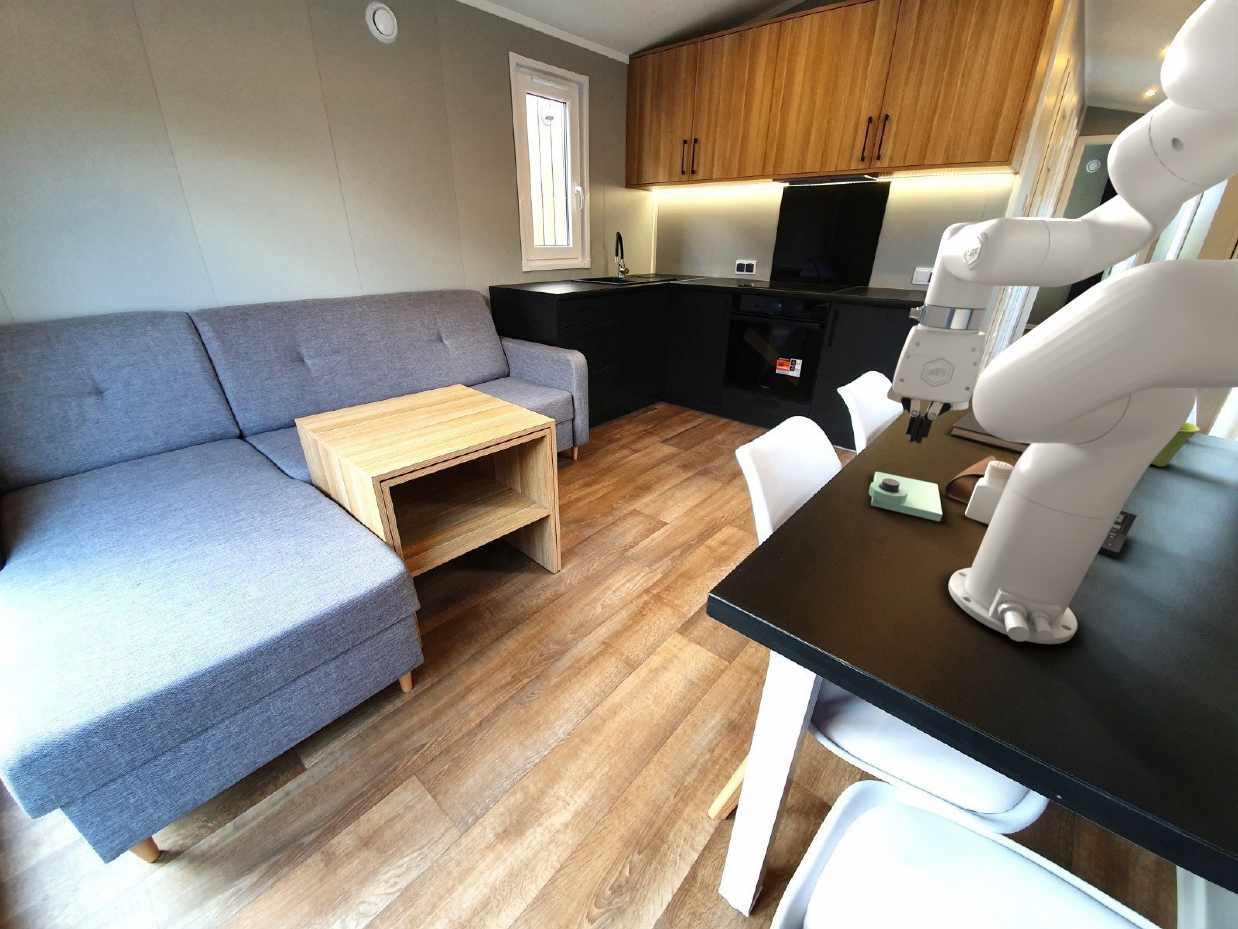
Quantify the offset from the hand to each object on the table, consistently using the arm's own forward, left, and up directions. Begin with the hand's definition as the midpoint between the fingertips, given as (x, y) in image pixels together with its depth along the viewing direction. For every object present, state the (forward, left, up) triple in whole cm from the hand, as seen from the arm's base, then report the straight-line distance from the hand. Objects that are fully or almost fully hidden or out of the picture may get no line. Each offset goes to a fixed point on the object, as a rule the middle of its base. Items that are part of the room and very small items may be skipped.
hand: (914, 439), depth 77 cm
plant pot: (+50, -48, -12) cm, 70 cm away
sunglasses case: (+16, -15, -12) cm, 25 cm away
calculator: (+7, -27, -12) cm, 30 cm away
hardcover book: (+53, -23, -12) cm, 59 cm away
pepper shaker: (+3, -13, -12) cm, 18 cm away
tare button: (0, +1, -9) cm, 9 cm away
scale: (+4, -2, -12) cm, 13 cm away
